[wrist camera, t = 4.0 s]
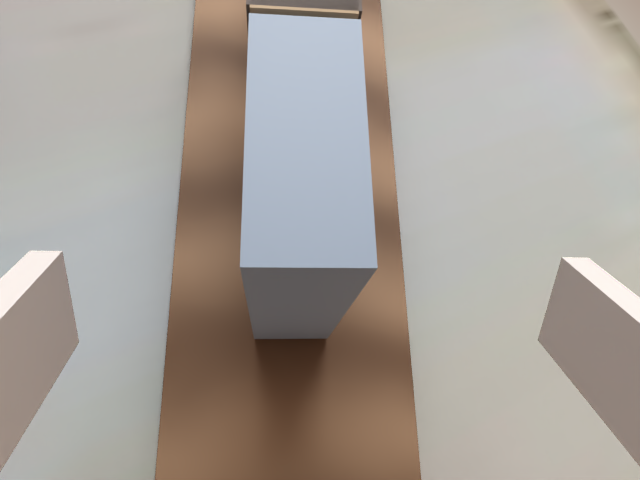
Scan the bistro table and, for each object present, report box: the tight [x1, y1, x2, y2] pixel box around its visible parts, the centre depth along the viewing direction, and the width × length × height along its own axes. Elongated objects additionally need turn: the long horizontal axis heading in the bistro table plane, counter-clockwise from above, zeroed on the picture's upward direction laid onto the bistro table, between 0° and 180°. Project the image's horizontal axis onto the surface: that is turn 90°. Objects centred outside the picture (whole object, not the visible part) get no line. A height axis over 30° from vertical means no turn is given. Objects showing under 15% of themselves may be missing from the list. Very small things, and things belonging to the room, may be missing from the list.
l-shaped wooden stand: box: [155, 0, 421, 480], centre depth 18 cm, size 29×10×11 cm, turn 1°
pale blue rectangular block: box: [240, 13, 378, 339], centre depth 16 cm, size 7×3×10 cm, turn 1°
